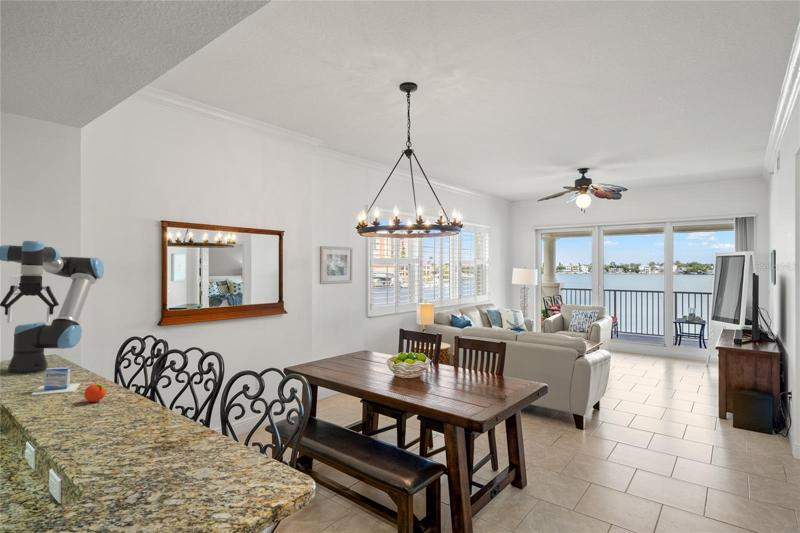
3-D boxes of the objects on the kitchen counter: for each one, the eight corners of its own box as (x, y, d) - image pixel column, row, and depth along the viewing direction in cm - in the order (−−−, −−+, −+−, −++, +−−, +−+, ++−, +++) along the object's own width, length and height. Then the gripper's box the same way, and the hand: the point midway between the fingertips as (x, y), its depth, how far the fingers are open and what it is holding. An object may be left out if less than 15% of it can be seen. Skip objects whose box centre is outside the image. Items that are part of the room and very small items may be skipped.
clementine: (112, 399, 170) (113, 381, 170) (98, 404, 163) (99, 386, 163) (93, 398, 171) (94, 380, 171) (79, 403, 164) (79, 385, 164)
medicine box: (43, 390, 177) (44, 369, 177) (47, 387, 181) (48, 367, 181) (67, 388, 181) (68, 368, 181) (69, 386, 185) (70, 366, 185)
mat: (40, 387, 184) (40, 385, 184) (80, 384, 190) (80, 383, 190) (30, 395, 171) (30, 394, 171) (73, 392, 178) (74, 391, 178)
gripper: (67, 275, 202) (65, 320, 201) (-2, 274, 190) (-5, 321, 190) (64, 276, 195) (61, 322, 195) (-9, 274, 184) (-11, 323, 183)
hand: (29, 322), depth 192 cm, fingers open, 13 cm apart
